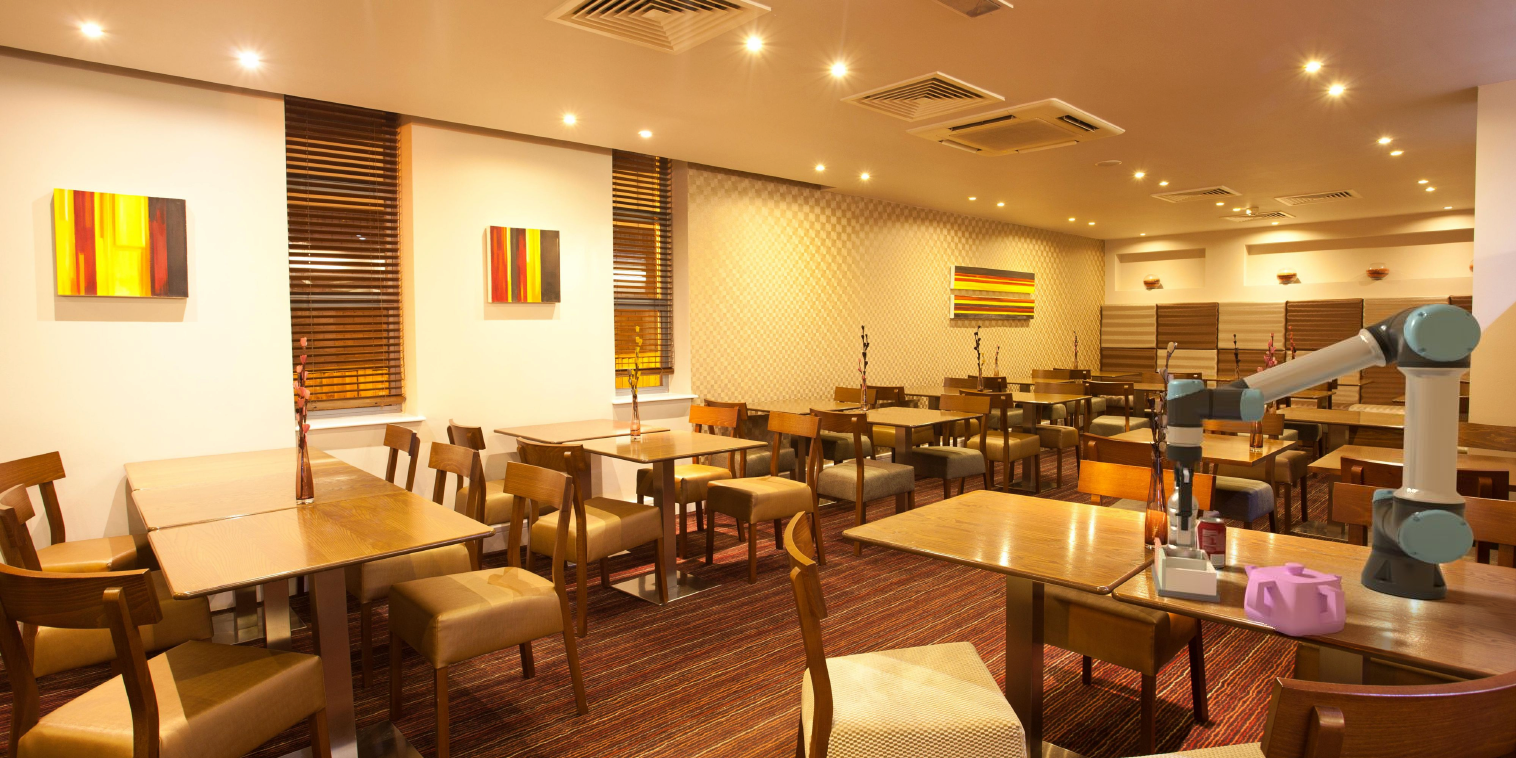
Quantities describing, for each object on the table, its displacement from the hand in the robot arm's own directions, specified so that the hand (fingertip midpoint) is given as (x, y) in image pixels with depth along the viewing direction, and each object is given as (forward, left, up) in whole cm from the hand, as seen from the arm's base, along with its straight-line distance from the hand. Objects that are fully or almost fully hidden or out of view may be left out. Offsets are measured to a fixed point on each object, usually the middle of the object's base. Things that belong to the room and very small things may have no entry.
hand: (1182, 539), depth 182 cm
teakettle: (-18, +23, -10) cm, 31 cm away
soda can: (-8, -16, -10) cm, 21 cm away
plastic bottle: (0, 0, -6) cm, 6 cm away
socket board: (0, +5, -10) cm, 11 cm away
